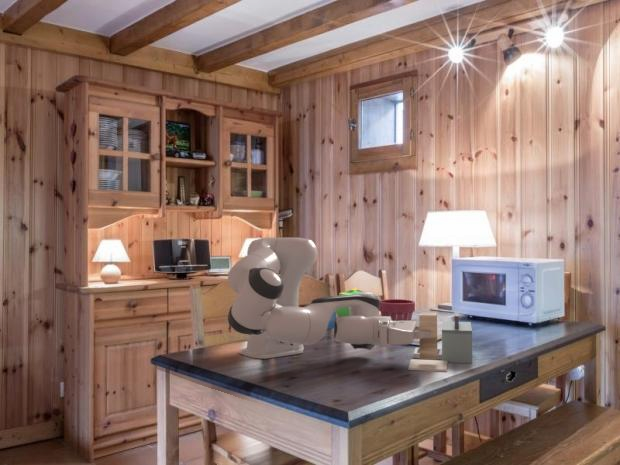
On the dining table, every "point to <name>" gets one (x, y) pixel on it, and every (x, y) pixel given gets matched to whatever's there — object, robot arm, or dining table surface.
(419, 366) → the pad
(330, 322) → the perfume bottle
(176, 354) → the dining table surface
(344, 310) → the green rounded piece
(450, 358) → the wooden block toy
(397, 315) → the plant pot
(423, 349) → the wooden block
